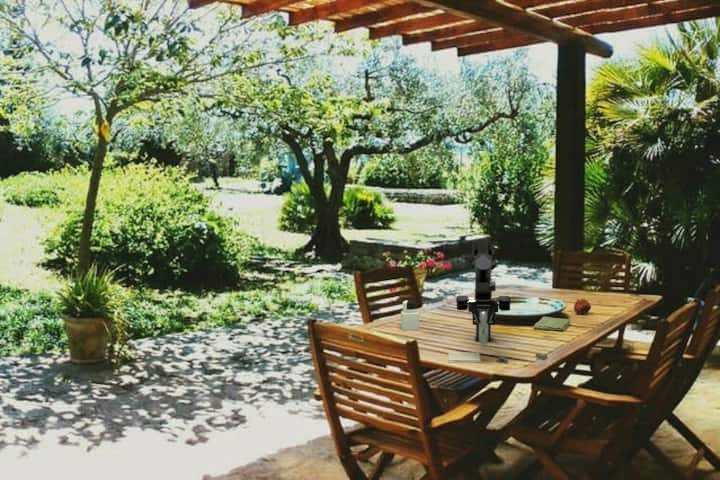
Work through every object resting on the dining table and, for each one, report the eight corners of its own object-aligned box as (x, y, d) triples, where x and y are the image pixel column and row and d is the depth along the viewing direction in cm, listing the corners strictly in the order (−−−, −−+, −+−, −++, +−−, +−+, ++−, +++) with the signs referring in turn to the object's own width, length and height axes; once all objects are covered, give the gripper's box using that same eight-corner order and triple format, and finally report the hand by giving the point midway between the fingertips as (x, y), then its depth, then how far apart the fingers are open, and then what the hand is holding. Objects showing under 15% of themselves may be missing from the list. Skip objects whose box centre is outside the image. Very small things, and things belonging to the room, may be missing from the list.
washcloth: (532, 330, 301) (532, 323, 301) (541, 322, 317) (542, 315, 317) (564, 333, 295) (564, 325, 295) (572, 325, 311) (572, 317, 311)
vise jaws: (494, 360, 253) (494, 356, 253) (542, 356, 257) (542, 352, 257) (500, 363, 248) (500, 360, 248) (549, 359, 253) (549, 356, 252)
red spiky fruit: (593, 319, 330) (585, 303, 337) (595, 309, 325) (587, 293, 332) (577, 322, 330) (570, 305, 337) (579, 311, 325) (572, 295, 332)
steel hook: (479, 341, 255) (478, 310, 254) (488, 341, 255) (488, 310, 254) (478, 345, 248) (478, 314, 247) (488, 345, 248) (488, 314, 247)
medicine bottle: (417, 326, 312) (417, 299, 311) (419, 330, 305) (419, 301, 304) (401, 327, 312) (400, 299, 311) (402, 330, 305) (402, 302, 304)
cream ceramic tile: (448, 354, 262) (448, 352, 262) (479, 354, 261) (479, 352, 261) (448, 362, 252) (448, 359, 252) (480, 362, 250) (480, 360, 250)
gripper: (456, 273, 257) (455, 309, 247) (510, 273, 253) (511, 310, 244) (457, 291, 265) (456, 327, 255) (509, 291, 262) (510, 328, 252)
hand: (483, 323), depth 251 cm, fingers closed on steel hook, 3 cm apart
